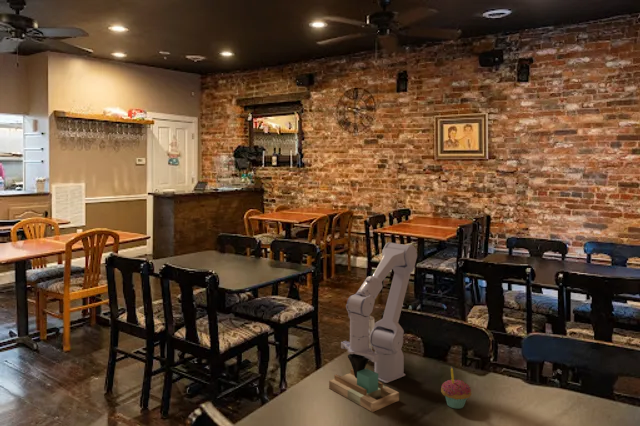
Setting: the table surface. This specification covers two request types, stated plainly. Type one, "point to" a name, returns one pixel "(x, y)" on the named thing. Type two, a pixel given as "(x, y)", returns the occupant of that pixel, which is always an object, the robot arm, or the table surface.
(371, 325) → the beer glass
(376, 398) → the channel board
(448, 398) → the cupcake
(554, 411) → the table surface
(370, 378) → the teal block
